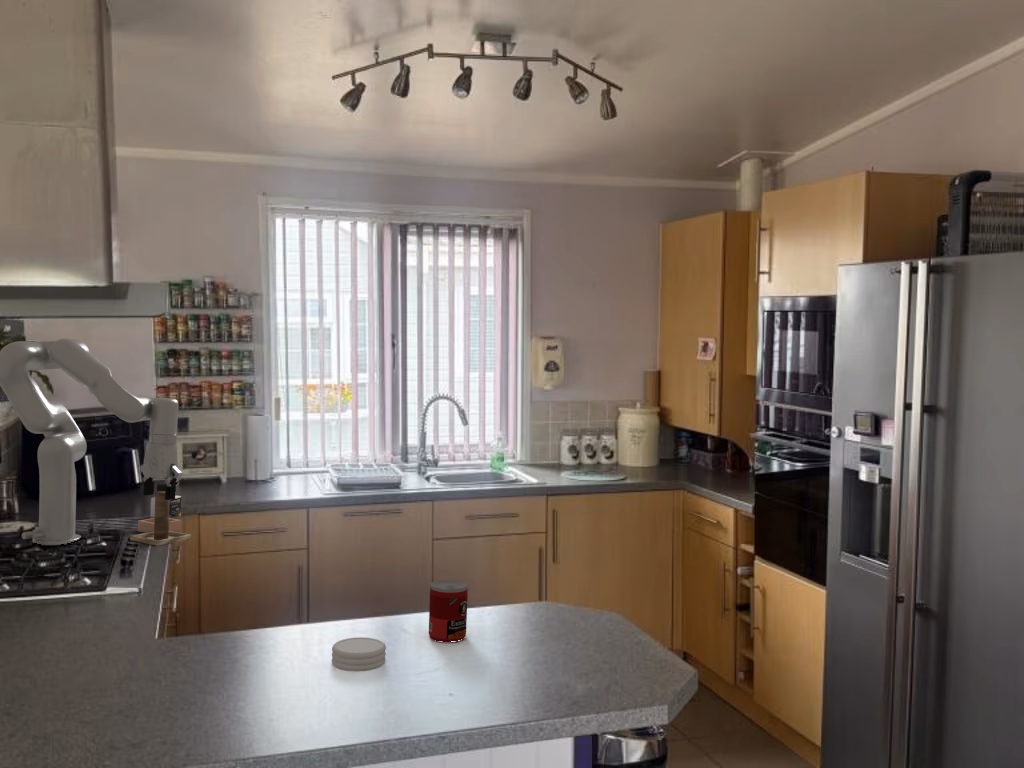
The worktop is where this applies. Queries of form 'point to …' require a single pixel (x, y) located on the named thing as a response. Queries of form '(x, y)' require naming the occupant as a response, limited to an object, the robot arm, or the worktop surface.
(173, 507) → the medicine bottle
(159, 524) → the dowel
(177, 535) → the tray
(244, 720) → the worktop surface
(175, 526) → the pink square box
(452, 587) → the canned food
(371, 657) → the coaster
